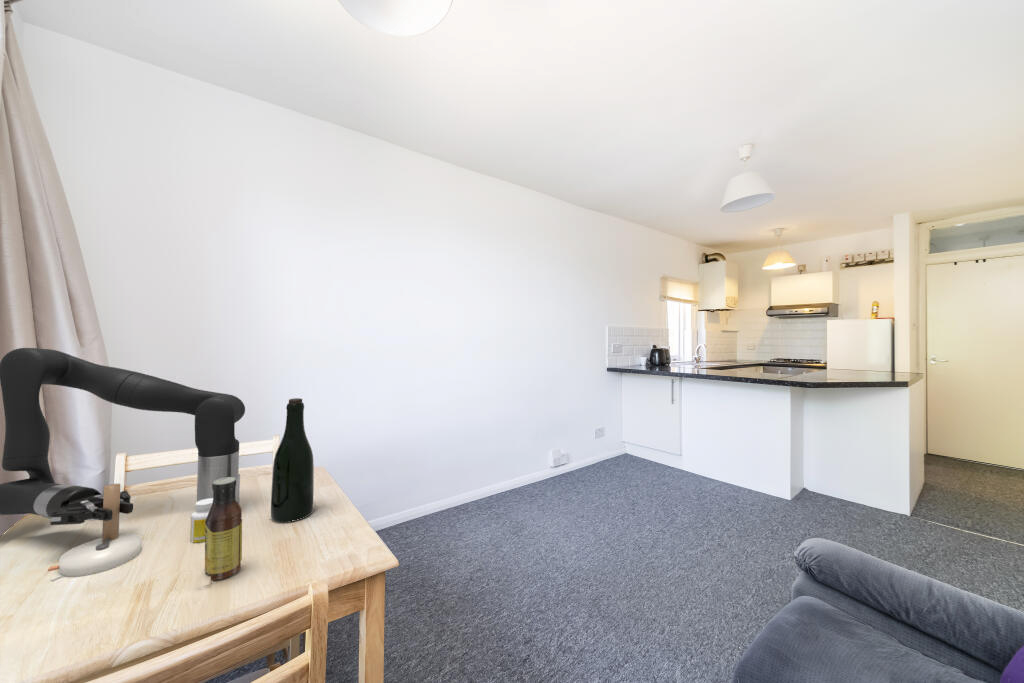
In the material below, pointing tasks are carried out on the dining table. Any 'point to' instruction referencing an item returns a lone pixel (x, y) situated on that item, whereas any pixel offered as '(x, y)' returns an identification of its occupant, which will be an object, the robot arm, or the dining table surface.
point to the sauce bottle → (223, 531)
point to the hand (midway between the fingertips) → (120, 512)
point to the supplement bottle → (199, 520)
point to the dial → (102, 544)
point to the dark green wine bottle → (293, 469)
